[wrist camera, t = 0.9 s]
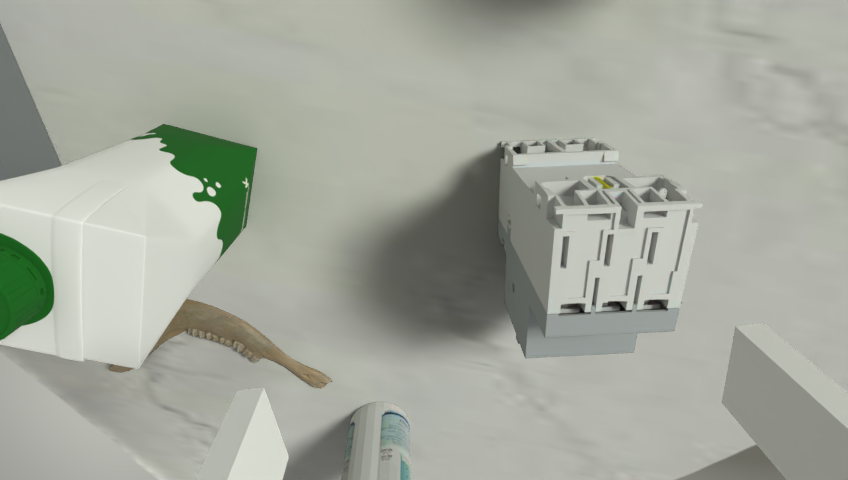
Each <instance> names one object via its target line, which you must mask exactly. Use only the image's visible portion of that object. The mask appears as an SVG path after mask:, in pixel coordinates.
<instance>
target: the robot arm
mask: <svg viewBox="0 0 848 480" xmlns="http://www.w3.org/2000/svg"><path fill="white" fill-rule="evenodd" d="M722 403H723V405H724V406H725V407H726V408H727V409H728V411H729V412H730V413H731V414H732V415H733V416H734V418H735V419H736V420H737V421H738V422H739V424H740V425H741V426H742V427H743V428H744V430H745V431H746V432H747V433H748V434H749V436H750V437H751V438H752V439H753V440H754V441H755V443H756V444H757V445H758V446H759V447H760V449H761V450H762V451H763V452H764V453H765V455H766V456H767V457H768V458H769V459H770V461H771V462H772V463H773V464H774V465H775V466H776V468H777V469H778V470H779V471H780V472H781V474H782V475H783V476H784V477H785V478H786V479H787V480H848V392H847V391H845V390H844V389H843V388H842V387H841V386H839V385H838V384H837V383H836V382H834V381H833V380H832V379H831V378H830V377H828V376H827V375H826V374H825V373H824V372H822V371H821V370H820V369H819V368H818V367H816V366H815V365H814V364H813V363H812V362H810V361H809V360H808V359H807V358H805V357H804V356H803V355H802V354H801V353H799V352H798V351H797V350H796V349H795V348H793V347H792V346H791V345H790V344H789V343H787V342H786V341H785V340H784V339H782V338H781V337H780V336H779V335H778V334H776V333H775V332H774V331H773V330H772V329H770V328H769V327H768V326H767V325H766V324H764V323H759V324H752V325H744V326H736V327H735V332H734V337H733V343H732V348H731V354H730V360H729V365H728V371H727V376H726V382H725V387H724V393H723V399H722ZM288 458H289V456H288V453H287V450H286V447H285V445H284V442H283V439H282V436H281V434H280V431H279V428H278V425H277V422H276V420H275V417H274V414H273V411H272V409H271V406H270V403H269V400H268V397H267V395H266V392H265V389H264V387H263V388H255V389H248V390H240V391H237V392H236V394H235V396H234V399H233V401H232V403H231V405H230V407H229V409H228V411H227V414H226V416H225V418H224V420H223V422H222V424H221V426H220V428H219V431H218V433H217V435H216V437H215V439H214V441H213V443H212V446H211V448H210V450H209V452H208V454H207V456H206V458H205V461H204V463H203V465H202V467H201V469H200V471H199V473H198V476H197V478H196V480H283V476H284V473H285V469H286V465H287V462H288Z"/></svg>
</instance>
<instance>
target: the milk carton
mask: <svg viewBox="0 0 848 480" xmlns="http://www.w3.org/2000/svg"><path fill="white" fill-rule="evenodd" d="M256 153H257V148H254V147H250V146H246V145H242V144H238V143H234V142H231V141H227V140H223V139H219V138H215V137H212V136H208V135H204V134H200V133H196V132H192V131H189V130H185V129H181V128H177V127H173V126H170V125H166V124H163V125H161V126H159V127H157V128H155V129H153V130H151V131H149V132H147V133H145V134H143V135H141V136H138V137H136V138H133V139H131V140H128V141H125V142H123V143H120V144H118V145H115V146H112V147H110V148H107V149H105V150H102V151H99V152H97V153H94V154H92V155H89V156H86V157H84V158H81V159H78V160H76V161H73V162H71V163H68V164H65V165H63V166H59V167H56V168H53V169H49V170H45V171H41V172H36V173H32V174H28V175H24V176H19V177H15V178H11V179H7V180H2V181H0V345H4V346H9V347H15V348H20V349H25V350H30V351H35V352H40V353H45V354H50V355H55V356H58V357H60V358H64V359H68V360H74V361H80V362H84V361H85V360H93V361H98V362H103V363H108V364H114V365H119V366H124V367H129V368H135V369H139V368H140V367H141V365H142V364H143V362H144V361H145V359H146V358H147V356H148V355H149V353H150V352H151V350H152V349H153V347H154V346H155V344H156V343H157V341H158V340H159V338H160V337H161V335H162V334H163V332H164V331H165V329H166V328H167V326H168V325H169V323H170V322H171V321H172V319H173V318H174V316H175V315H176V313H177V312H178V310H179V309H180V307H181V306H182V304H183V303H184V302H185V300H186V299H187V298H188V296H189V295H190V294H191V292H192V291H193V290H194V289H195V288H196V286H197V285H198V284H199V283H200V281H201V280H202V279H203V278H204V277H205V275H206V274H207V273H208V272H209V271H210V269H211V268H212V267H213V266H214V264H215V263H216V262H217V261H218V260H219V258H220V257H221V256H222V255H223V253H224V252H225V251H226V250H227V249H228V247H229V246H230V245H231V244H232V243H233V241H234V240H235V239H236V238H237V236H238V235H239V234H240V233H241V232H242V231H243V229H244V228H245V227H246V223H247V216H248V209H249V202H250V195H251V188H252V181H253V174H254V167H255V160H256Z"/></svg>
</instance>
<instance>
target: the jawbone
mask: <svg viewBox="0 0 848 480" xmlns="http://www.w3.org/2000/svg"><path fill="white" fill-rule="evenodd" d="M186 330H188V334H192V336H199V338H204V337H206V339H207V340H208V339H209V340H212V339H213V341H214V342H218V341H220V344H225V345H226V346H228V347H229V346H232V347H233V348H236V351H237V352H242V354H243V355H244V357H246V358H250V359H251V360H252V361H253V362H254V363H256V362H258V361H259V360H260V359H261V358H267V359H269V360H271V361H274V362H276V363H278V364H280V365H282V366H284V367H285V368H287V369H288V370H289V371H291V372H292V373H293V374H295V375H296V376H297V377H299V378H300V379H302V380H303V381H305V382H307V383H309V384H310V385H312V386H313V387H315V388H320V389H321V388H323V387H324V386H326V384H327V383H328V382H332V380H331V379H329V378H328V377H327V376H325V375H324V374H323V373H321V372H320V371H317V370H315V369H313V368H310V367H307V366H305V365H303V364H301V363H299V362H297V361H295V360H294V359H292V358H290V357H289V356H287V355H286V354H285V353H283V352H282V351H281V350H280V349H279V348H278V347H276V346H275V345H274V344H273V343H272V342H271V341H270V340H269V339H267V338H266V337H265V336H264V335H263V334H261V333H260V332H259V331H258V330H256V329H255V328H254V327H252V326H251V325H250V324H248V323H247V322H245V321H243V320H242V319H240V318H238V317H236V316H234V315H232V314H230V313H228V312H225V311H223V310H220V309H218V308H215V307H213V306H210V305H207V304H204V303H201V302H197V301H192V300H188V299H186V300H185V302H184V303H183V304H182V306H181V307H180V309H179V310H178V312H177V313H176V315H175V316H174V318H173V319H172V321H171V322H170V323H169V325H168V326H167V328H166V329H165V331H164V332H163V334H162V335H161V337H160V338H159V340H158V341H157V343H156V344H155V346H154V347H153V349H152V350H151V352H150V353H149V355H150V354H151V353H152V352H153V351H154V350H155V349H156V348H157V347H159V345H161V344H162V343H163V342H165V341H166V340H168V339H170V338H172V337H174V336H176V335H178V334H180V333H182V332H184V331H186ZM149 355H148V356H149ZM148 356H147V357H148ZM131 369H134V368H129V367H124V366H119V365H114V364H112V366H110V367H109V370H111V371H115V372H126V371H129V370H131Z"/></svg>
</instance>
